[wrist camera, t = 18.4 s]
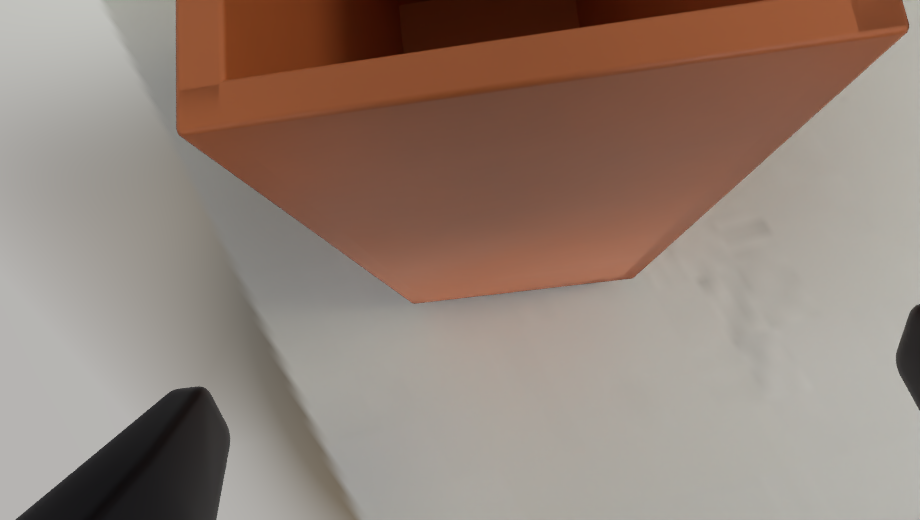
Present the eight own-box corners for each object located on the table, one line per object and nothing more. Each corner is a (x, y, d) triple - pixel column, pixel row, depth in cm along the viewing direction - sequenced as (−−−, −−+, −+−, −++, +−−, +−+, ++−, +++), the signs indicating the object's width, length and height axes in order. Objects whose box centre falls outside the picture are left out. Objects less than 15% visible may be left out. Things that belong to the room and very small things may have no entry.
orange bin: (633, 278, 14) (914, 29, 4) (411, 304, 14) (172, 134, 4) (583, -25, 15) (695, -725, 6) (386, 5, 16) (171, -602, 6)
